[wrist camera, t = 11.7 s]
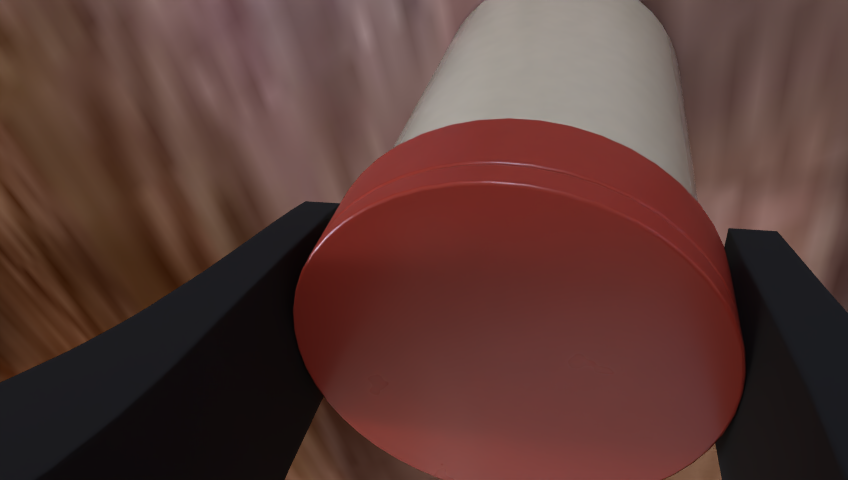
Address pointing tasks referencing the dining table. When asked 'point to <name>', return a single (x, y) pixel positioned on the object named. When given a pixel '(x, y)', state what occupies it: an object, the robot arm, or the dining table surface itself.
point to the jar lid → (523, 308)
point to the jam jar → (565, 76)
